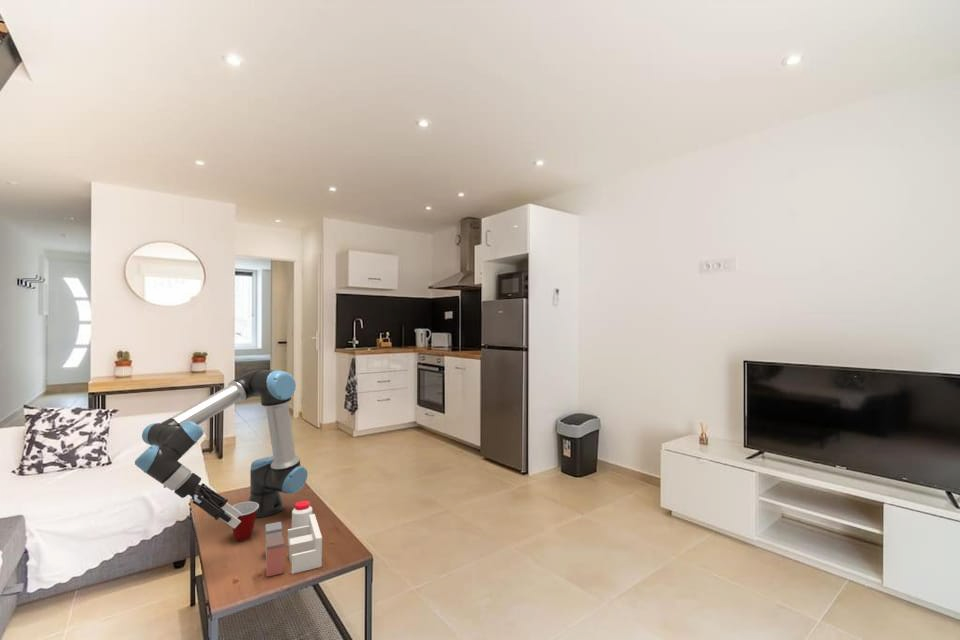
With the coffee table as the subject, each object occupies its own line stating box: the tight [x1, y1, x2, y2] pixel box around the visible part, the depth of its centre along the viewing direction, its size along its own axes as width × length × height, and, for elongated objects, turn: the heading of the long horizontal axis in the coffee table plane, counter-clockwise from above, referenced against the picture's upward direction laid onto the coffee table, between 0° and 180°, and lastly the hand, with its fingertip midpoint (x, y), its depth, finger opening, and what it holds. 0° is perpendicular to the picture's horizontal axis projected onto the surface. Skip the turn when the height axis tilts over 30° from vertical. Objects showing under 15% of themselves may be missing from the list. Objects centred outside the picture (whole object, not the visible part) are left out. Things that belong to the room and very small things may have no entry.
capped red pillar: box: [265, 535, 285, 578], centre depth 146 cm, size 6×5×10 cm
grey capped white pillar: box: [264, 521, 283, 553], centre depth 156 cm, size 6×5×10 cm
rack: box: [287, 513, 323, 575], centre depth 155 cm, size 21×10×10 cm, turn 28°
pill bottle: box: [291, 500, 313, 529], centre depth 174 cm, size 8×8×11 cm
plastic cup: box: [231, 501, 259, 542], centre depth 168 cm, size 11×11×12 cm
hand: (237, 520), depth 151 cm, fingers open, 6 cm apart
